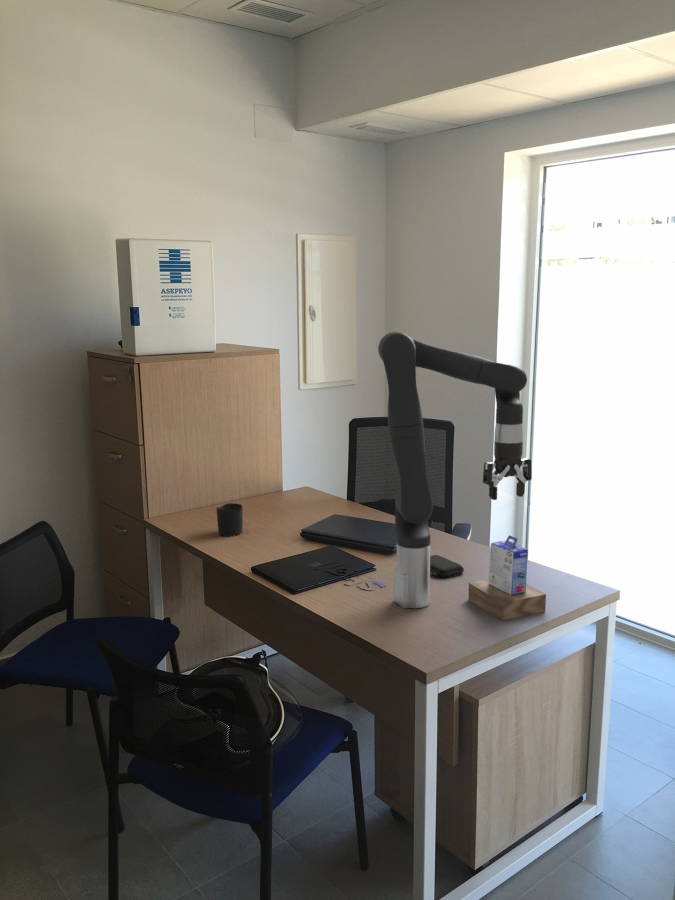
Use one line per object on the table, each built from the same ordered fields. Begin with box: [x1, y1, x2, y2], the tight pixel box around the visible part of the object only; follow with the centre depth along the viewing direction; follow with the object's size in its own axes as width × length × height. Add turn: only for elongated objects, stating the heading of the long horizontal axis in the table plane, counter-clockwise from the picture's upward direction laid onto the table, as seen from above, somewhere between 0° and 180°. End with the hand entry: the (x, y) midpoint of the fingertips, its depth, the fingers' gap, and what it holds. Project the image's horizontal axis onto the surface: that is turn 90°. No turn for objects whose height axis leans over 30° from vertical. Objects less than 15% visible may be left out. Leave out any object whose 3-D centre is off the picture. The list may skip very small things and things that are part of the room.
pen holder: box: [215, 502, 244, 537], centre depth 282 cm, size 9×9×10 cm
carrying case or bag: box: [430, 554, 465, 579], centre depth 242 cm, size 11×3×15 cm
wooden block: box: [468, 578, 547, 621], centre depth 213 cm, size 14×16×5 cm
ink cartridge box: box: [488, 535, 529, 595], centre depth 211 cm, size 10×6×14 cm, turn 29°
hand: (506, 497), depth 212 cm, fingers open, 8 cm apart
